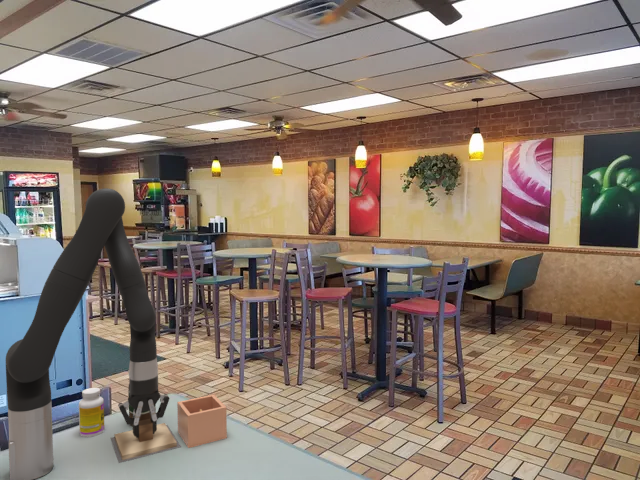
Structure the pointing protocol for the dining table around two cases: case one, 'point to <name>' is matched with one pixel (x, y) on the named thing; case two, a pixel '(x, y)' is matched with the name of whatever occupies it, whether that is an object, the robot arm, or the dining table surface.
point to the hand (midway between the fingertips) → (145, 434)
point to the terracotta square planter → (202, 420)
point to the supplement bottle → (91, 413)
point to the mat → (141, 455)
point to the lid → (144, 440)
